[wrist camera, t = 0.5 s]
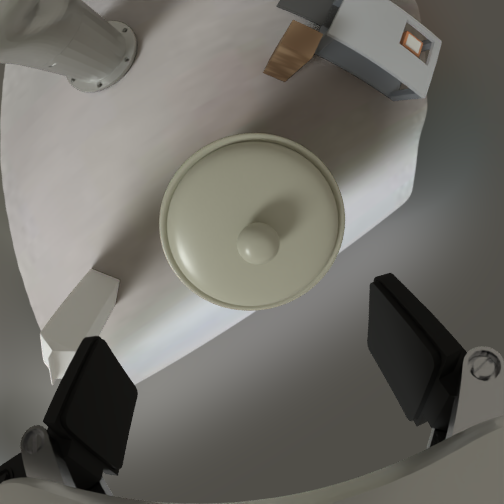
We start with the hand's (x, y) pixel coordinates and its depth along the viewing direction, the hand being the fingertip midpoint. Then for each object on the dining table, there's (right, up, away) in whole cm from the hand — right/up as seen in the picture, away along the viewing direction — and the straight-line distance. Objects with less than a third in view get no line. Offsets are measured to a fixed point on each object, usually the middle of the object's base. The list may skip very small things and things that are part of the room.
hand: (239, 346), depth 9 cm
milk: (-26, -3, +37) cm, 45 cm away
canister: (-1, +12, +33) cm, 35 cm away
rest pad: (+10, +43, +20) cm, 48 cm away
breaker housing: (+19, +36, +24) cm, 47 cm away
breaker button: (+23, +35, +21) cm, 47 cm away
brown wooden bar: (+4, +30, +25) cm, 39 cm away
